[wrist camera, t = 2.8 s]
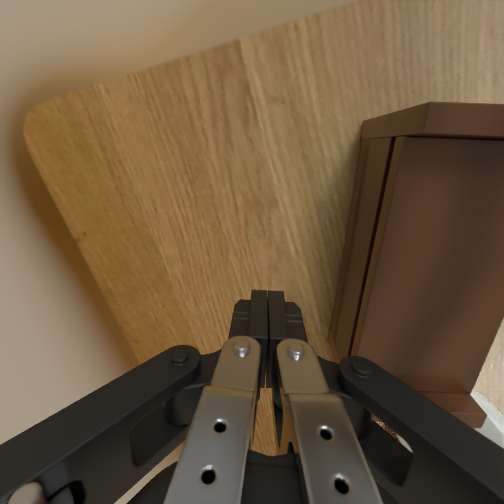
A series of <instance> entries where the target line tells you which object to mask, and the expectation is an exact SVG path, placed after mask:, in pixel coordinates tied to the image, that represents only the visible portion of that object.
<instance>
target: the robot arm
mask: <svg viewBox="0 0 504 504" xmlns="http://www.w3.org/2000/svg"><path fill="white" fill-rule="evenodd" d="M265 373H266V388H272V416H273V425H274V433H275V442H276V451H277V456H266V455H264V454H261V453H258V452H255V451H253V442H254V432H255V423H256V414H257V404H258V401H259V398H260V388H264V387H265ZM374 416H376V417H377V418H378V419H379V420H380V421H382V422H383V423H384V424H385V425H387V426H388V427H389V428H390V429H391V430H393V431H394V432H395V433H396V434H398V435H399V436H400V437H401V438H402V439H404V440H405V441H406V442H407V444H408V445H409V447H410V448H411V450H412V452H411V451H410V450H408V449H407V448H406V447H405V446H404V445H402V444H401V443H400V442H399V441H398V440H396V439H395V438H394V437H393V436H392V435H390V434H389V433H388V432H387V431H386V430H384V429H383V428H382V427H381V426H380V425H378V424H377V423H376V422H375V421H374V420H373V418H374ZM185 439H186V440H185ZM184 440H185V443H184V446H183V449H182V451H181V454H180V457H179V460H178V461H177V462H175V463H173V464H171V465H170V466H168V467H166V468H165V469H163V470H162V471H161V472H160V473H158V474H157V475H156V476H155V477H154V478H153V479H151V480H150V481H149V482H148V483H147V484H146V485H145V486H144V487H143V488H142V489H141V490H140V491H139V492H138V493H137V494H136V495H135V496H134V497H133V498H132V499H131V500H130V501H129V502H128V503H127V504H504V448H502V447H501V446H499V445H498V444H496V443H495V442H493V441H492V440H490V439H489V438H487V437H485V436H484V435H482V434H481V433H479V432H478V431H476V430H475V429H473V428H472V427H470V426H469V425H467V424H466V423H464V422H463V421H461V420H460V419H458V418H457V417H455V416H454V415H452V414H451V413H449V412H448V411H446V410H445V409H443V408H442V407H440V406H439V405H437V404H436V403H434V402H433V401H431V400H430V399H428V398H427V397H425V396H423V395H422V394H420V393H419V392H417V391H416V390H414V389H413V388H411V387H410V386H408V385H407V384H405V383H404V382H402V381H401V380H399V379H398V378H396V377H395V376H393V375H392V374H390V373H389V372H387V371H386V370H384V369H383V368H381V367H380V366H378V365H377V364H375V363H374V362H372V361H370V360H368V359H366V358H363V357H360V356H347V357H344V358H343V359H342V360H341V361H340V363H339V364H338V363H334V362H331V361H328V360H325V359H323V358H321V357H319V356H317V355H316V353H315V350H314V348H313V347H312V346H311V345H310V344H308V340H307V336H306V331H305V327H304V323H303V319H302V314H301V310H300V308H299V307H298V306H297V305H296V304H295V303H294V302H285V299H284V292H283V291H268V297H267V290H252V294H251V300H243V299H240V300H239V301H238V302H237V303H236V304H235V306H234V311H233V316H232V322H231V327H230V332H229V338H228V340H226V341H225V343H224V344H223V347H222V349H220V350H219V351H217V352H214V353H210V354H205V355H200V353H199V351H198V350H197V349H196V348H194V347H192V346H189V345H178V346H174V347H171V348H169V349H167V350H165V351H164V352H162V353H160V354H158V355H157V356H155V357H153V358H151V359H150V360H148V361H146V362H144V363H143V364H141V365H139V366H137V367H136V368H134V369H132V370H131V371H129V372H127V373H125V374H123V375H122V376H120V377H119V378H116V379H115V380H113V381H111V382H110V383H108V384H106V385H104V386H102V387H101V388H99V389H97V390H95V391H94V392H92V393H90V394H88V395H87V396H85V397H83V398H81V399H80V400H78V401H76V402H74V403H73V404H71V405H69V406H68V407H66V408H64V409H62V410H61V411H59V412H57V413H55V414H54V415H52V416H50V417H48V418H47V419H45V420H43V421H41V422H40V423H38V424H36V425H34V426H33V427H31V428H29V429H28V430H26V431H24V432H22V433H20V434H19V435H17V436H15V437H13V438H12V439H10V440H8V441H6V442H5V443H3V444H1V445H0V504H114V503H115V502H116V501H117V500H118V499H119V498H120V497H121V496H123V495H124V494H125V493H126V492H127V491H128V490H129V489H131V488H132V487H133V486H134V485H135V484H136V483H137V482H138V481H139V480H141V479H142V478H143V477H144V476H145V475H146V474H147V473H148V472H150V471H151V470H152V469H153V468H154V467H155V466H156V465H157V464H158V463H159V462H161V461H162V460H163V459H164V458H165V457H166V456H167V455H168V454H169V453H171V452H172V451H173V450H174V449H175V448H176V447H177V446H179V445H180V444H181V443H182V442H183V441H184ZM374 480H375V481H374Z"/></svg>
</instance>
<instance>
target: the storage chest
mask: <svg viewBox="0 0 504 504" xmlns="http://www.w3.org/2000/svg"><path fill="white" fill-rule="evenodd" d="M360 140H362V146H361V152H360V158H359V164H358V169H357V175H356V181H355V187H354V193H353V199H352V205H351V211H350V217H349V223H348V229H347V235H346V241H345V247H344V253H343V259H342V265H341V271H340V276H339V282H338V288H337V294H336V300H335V306H334V312H333V318H332V324H331V329H329V332H328V338H327V339H328V342H329V345H330V348H331V351H332V354H333V357H334V360H335V363H338V364H339V363H340V361H341V360H342V359H343V358H344V357H347V356H360V357H363V358H366V359H368V360H370V361H372V362H374V363H375V364H377V365H378V366H380V367H381V368H383V369H384V370H386V371H387V372H389V373H390V374H392V375H393V376H395V377H396V378H398V379H399V380H401V381H402V382H404V383H405V384H407V385H408V386H410V387H411V388H413V389H414V390H416V391H417V392H419V393H420V394H422V395H423V396H425V397H427V398H428V399H430V400H431V401H433V402H434V403H436V404H437V405H439V406H440V407H442V408H443V409H445V410H446V411H448V412H449V413H451V414H452V415H454V416H455V417H457V418H458V419H460V420H461V421H463V422H464V423H466V424H467V425H469V426H470V427H472V428H482V426H483V424H484V422H485V420H486V418H487V414H486V413H485V411H484V410H483V409H482V408H481V407H480V406H479V404H478V403H477V402H476V401H475V400H474V398H473V397H472V396H471V395H470V394H471V392H472V390H473V388H474V385H475V383H476V381H477V378H478V376H479V374H480V371H481V369H482V367H483V364H484V362H485V360H486V357H487V355H488V353H489V350H490V348H491V346H492V343H493V341H494V339H495V336H496V334H497V332H498V329H499V327H500V325H501V322H502V320H503V318H504V104H485V103H457V102H427V103H424V104H420V105H417V106H414V107H410V108H407V109H403V110H400V111H396V112H393V113H389V114H386V115H382V116H379V117H376V118H372V119H369V120H365V121H363V125H362V131H361V137H360ZM373 420H374V421H379V422H382V421H380V420H379V419H378V418H377V417H376V416H374V418H373Z"/></svg>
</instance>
